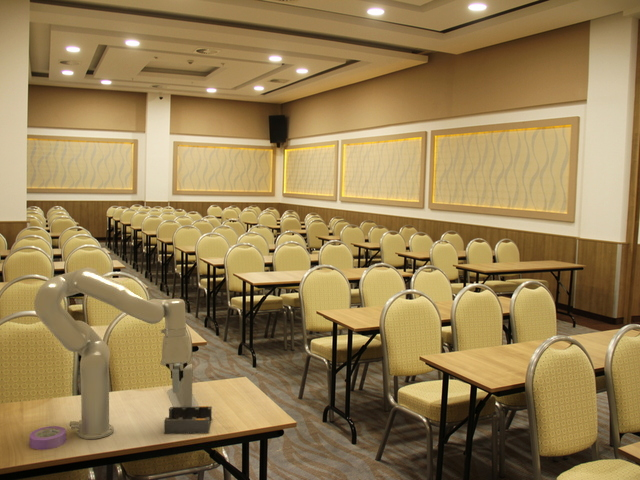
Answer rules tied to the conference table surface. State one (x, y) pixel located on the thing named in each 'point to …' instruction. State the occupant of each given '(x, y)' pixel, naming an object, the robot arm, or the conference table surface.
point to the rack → (188, 420)
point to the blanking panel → (176, 378)
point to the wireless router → (184, 390)
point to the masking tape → (47, 437)
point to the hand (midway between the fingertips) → (177, 379)
